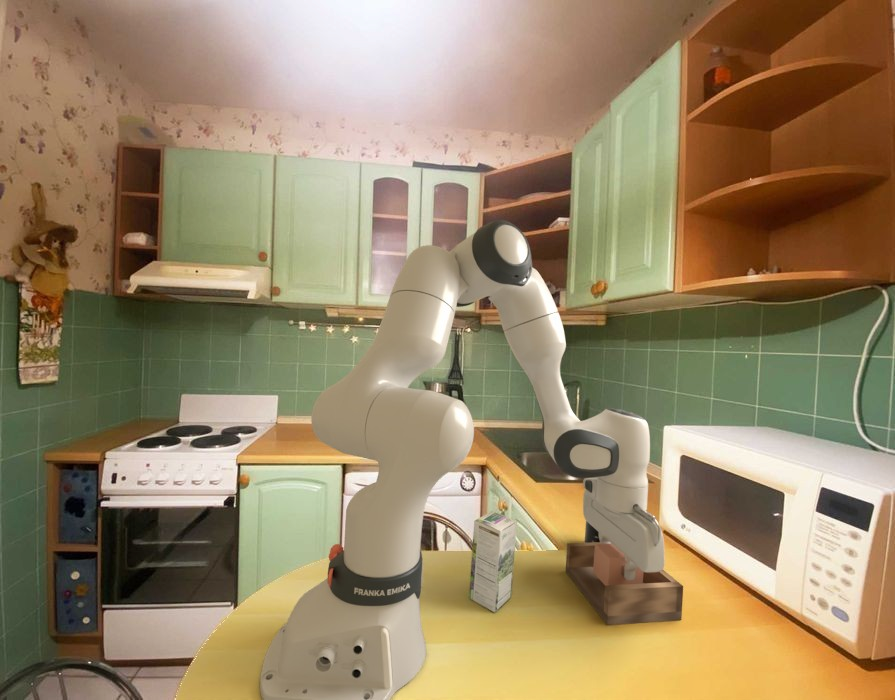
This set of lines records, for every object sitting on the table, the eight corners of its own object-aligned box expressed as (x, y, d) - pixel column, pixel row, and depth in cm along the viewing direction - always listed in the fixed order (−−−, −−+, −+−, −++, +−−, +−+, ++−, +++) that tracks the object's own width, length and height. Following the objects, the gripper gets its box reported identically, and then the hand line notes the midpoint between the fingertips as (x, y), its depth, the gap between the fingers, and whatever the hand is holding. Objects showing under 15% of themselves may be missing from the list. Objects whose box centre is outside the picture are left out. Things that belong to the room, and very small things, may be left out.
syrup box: (485, 584, 72) (489, 509, 72) (512, 598, 68) (517, 519, 68) (468, 598, 67) (472, 518, 67) (496, 614, 64) (500, 530, 64)
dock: (607, 625, 63) (609, 590, 63) (565, 571, 77) (567, 543, 77) (681, 619, 65) (683, 586, 65) (626, 568, 80) (628, 541, 80)
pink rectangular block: (607, 588, 68) (609, 558, 68) (593, 571, 73) (594, 544, 73) (642, 587, 69) (644, 557, 69) (625, 570, 74) (627, 543, 74)
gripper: (677, 519, 61) (672, 603, 61) (605, 476, 81) (602, 539, 81) (642, 520, 60) (637, 605, 60) (579, 476, 80) (575, 540, 80)
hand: (617, 567), depth 71 cm, fingers closed on pink rectangular block, 5 cm apart
